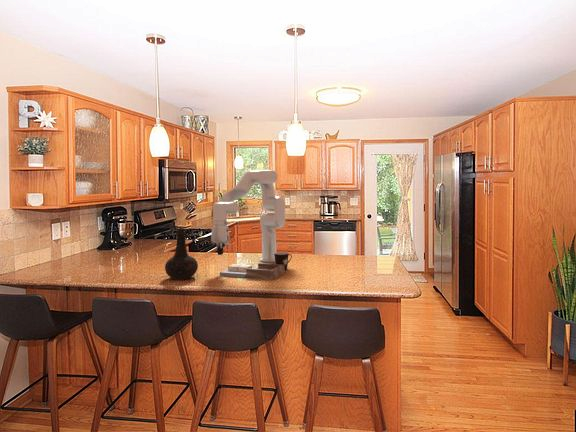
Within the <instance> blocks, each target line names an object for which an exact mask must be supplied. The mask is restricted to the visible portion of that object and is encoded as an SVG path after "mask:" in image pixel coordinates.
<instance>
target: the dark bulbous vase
mask: <svg viewBox="0 0 576 432" xmlns="http://www.w3.org/2000/svg"><path fill="white" fill-rule="evenodd" d="M175 232H176V244H175V245H176V246H175V251H174V254H173V256H172V257H170V258H169V259H168V260H166V263H165V264H164V270H165V271H164V272H165V273H166V274H167V276H168V277H169V278H171V279H173V280H187V279H190V278H193V277H194V276H195V274H196V273H197V271H198V268H199V266H198V265H199V264H198V261H197V260H196V258H195V257H192V256H190V255H189V254H188V251H187V244H186V233H187V231H186V229H185V227H184V228H181V227H180V228H177V229H176V231H175Z"/></svg>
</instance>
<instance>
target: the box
mask: <svg viewBox="0 0 576 432" xmlns="http://www.w3.org/2000/svg"><path fill="white" fill-rule="evenodd" d="M257 268H258V269H251V268H247V269H246V278H248V279H259V280H271V281H272V280H273V281H274V280H275V279H277V278H278V277H280V276H282V275H284V274H285V271H284V265H283V264H276V263H268V262H258V263H257ZM246 278H245V279H246Z"/></svg>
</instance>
